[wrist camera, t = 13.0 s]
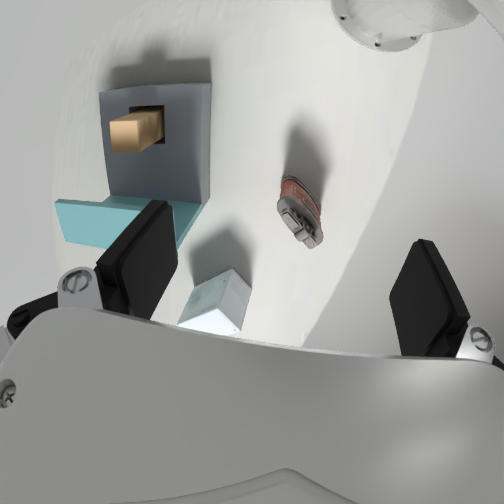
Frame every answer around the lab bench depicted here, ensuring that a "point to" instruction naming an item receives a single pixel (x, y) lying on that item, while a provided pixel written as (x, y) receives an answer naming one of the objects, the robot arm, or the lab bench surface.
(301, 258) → the lab bench surface
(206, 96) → the socket block
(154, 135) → the peg
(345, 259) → the lab bench surface
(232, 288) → the skincare box
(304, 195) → the lighter
